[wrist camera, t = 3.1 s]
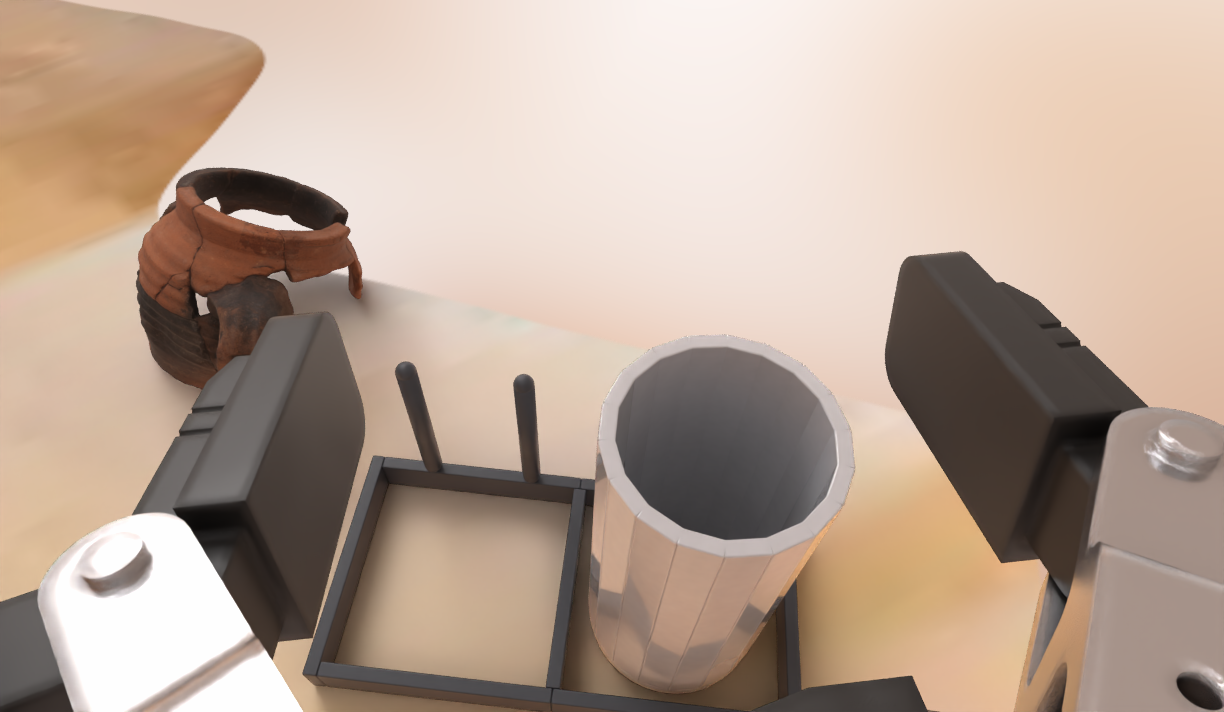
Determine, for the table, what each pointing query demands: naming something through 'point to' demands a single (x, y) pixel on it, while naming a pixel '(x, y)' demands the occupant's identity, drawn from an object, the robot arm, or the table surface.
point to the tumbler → (707, 503)
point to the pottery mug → (232, 266)
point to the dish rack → (566, 706)
